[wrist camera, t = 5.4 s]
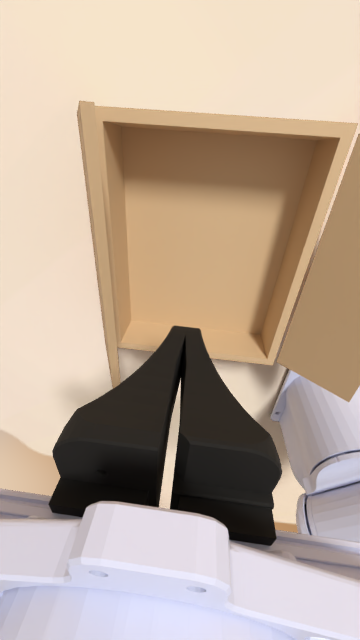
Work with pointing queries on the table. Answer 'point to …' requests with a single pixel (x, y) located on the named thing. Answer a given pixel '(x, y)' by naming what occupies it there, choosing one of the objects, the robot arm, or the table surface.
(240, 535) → the robot arm
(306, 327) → the flap right
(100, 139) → the carton
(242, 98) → the table surface
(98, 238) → the flap left
